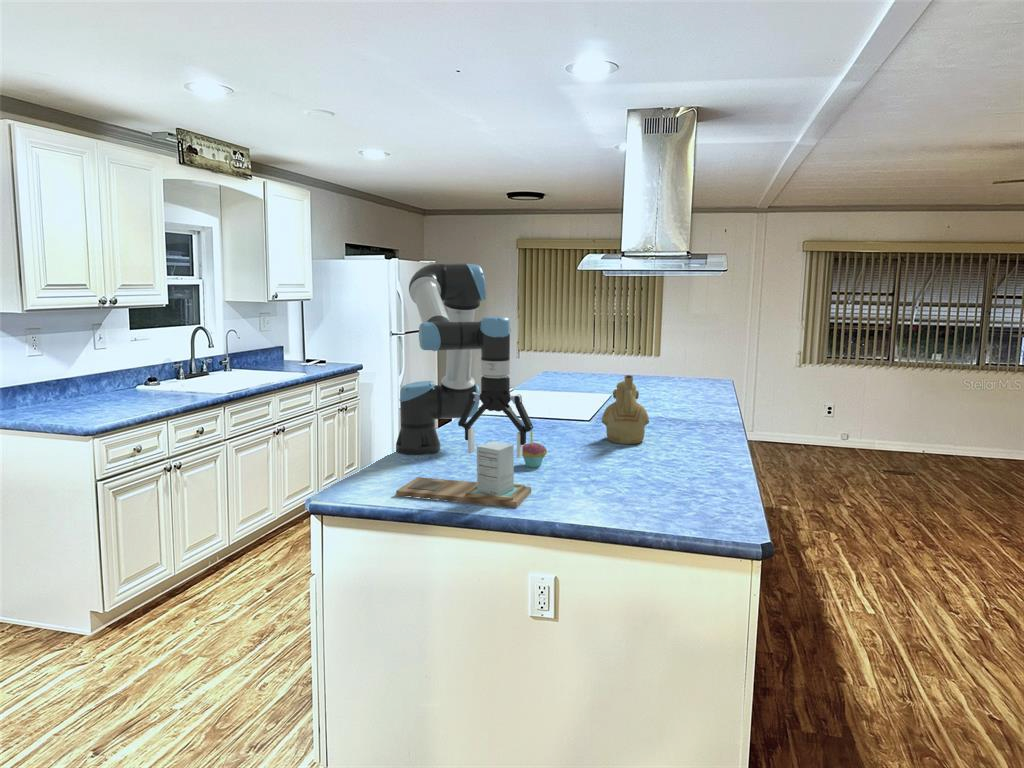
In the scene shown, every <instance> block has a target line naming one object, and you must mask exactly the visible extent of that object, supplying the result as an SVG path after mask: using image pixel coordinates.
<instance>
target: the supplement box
mask: <svg viewBox="0 0 1024 768" xmlns="http://www.w3.org/2000/svg"><path fill="white" fill-rule="evenodd" d="M514 452H515V451H514V444H511V443H505V442H497V441H489V442H487V443H484V444H480V445H478V446H476V482H477V491H478V492H481V493H485V494H490V495H498V496H500V495H503V494H505V493H507V492H509V491H511V490H513V489H514V484H515V481H514V480H515V479H514V477H515V475H514V470H515V468H514V467H515V466H514V465H515V462H514V459H515V458H514V454H515V453H514Z"/></svg>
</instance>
